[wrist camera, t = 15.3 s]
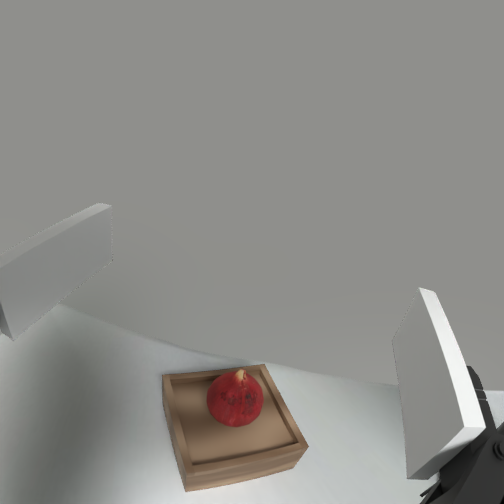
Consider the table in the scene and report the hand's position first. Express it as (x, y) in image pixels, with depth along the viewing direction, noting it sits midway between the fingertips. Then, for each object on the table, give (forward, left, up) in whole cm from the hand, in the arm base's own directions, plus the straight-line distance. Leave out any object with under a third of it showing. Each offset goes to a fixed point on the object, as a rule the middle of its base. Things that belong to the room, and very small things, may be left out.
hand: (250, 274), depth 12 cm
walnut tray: (+8, -5, -29) cm, 31 cm away
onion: (+8, -5, -24) cm, 26 cm away
